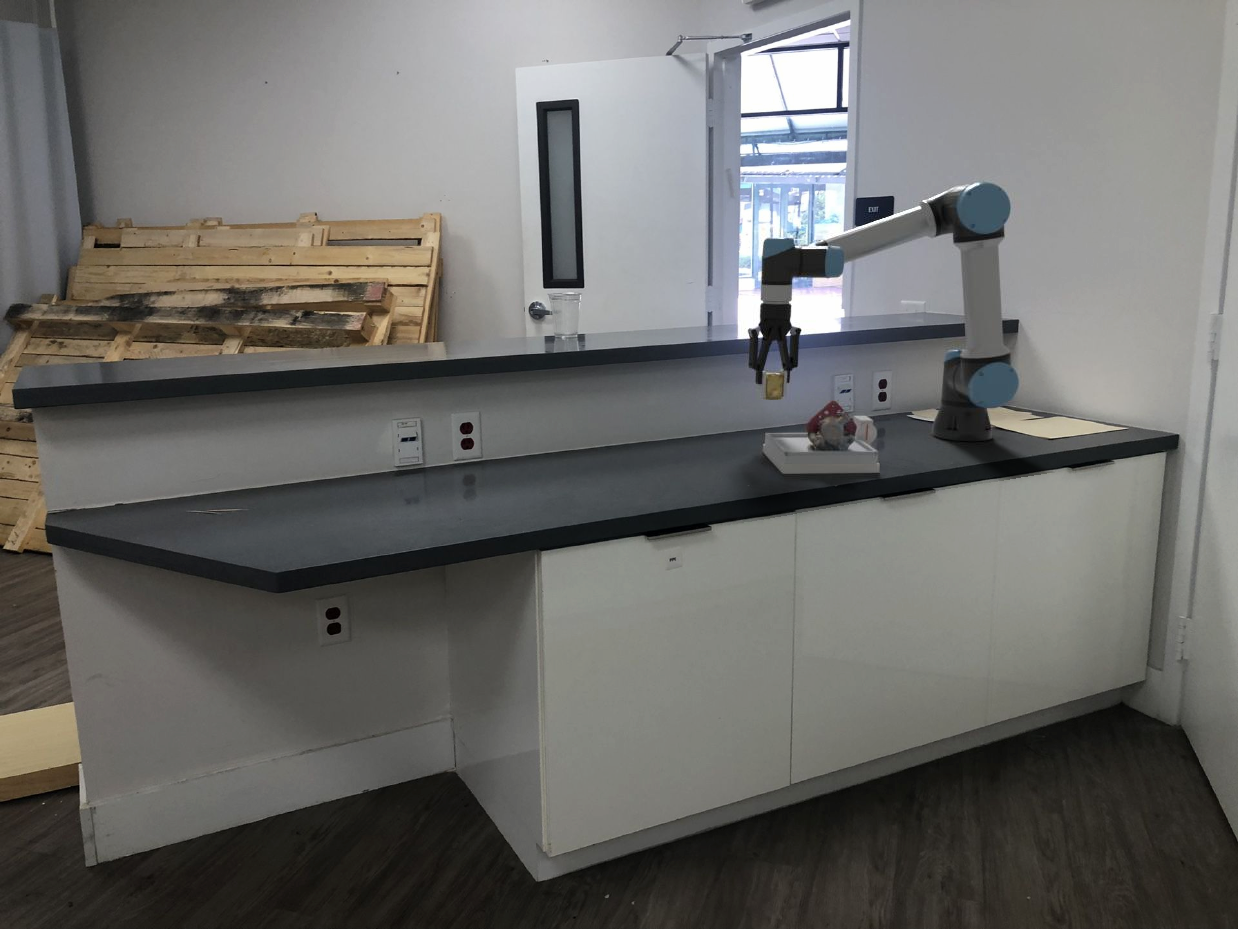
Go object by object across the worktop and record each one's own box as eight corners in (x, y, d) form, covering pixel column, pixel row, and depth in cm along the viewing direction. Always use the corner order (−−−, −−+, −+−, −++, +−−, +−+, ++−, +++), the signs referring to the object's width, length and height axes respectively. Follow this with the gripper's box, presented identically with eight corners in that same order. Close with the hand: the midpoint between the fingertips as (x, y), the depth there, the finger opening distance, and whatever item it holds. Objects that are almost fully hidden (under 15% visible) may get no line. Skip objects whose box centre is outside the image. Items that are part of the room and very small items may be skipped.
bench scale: (866, 451, 239) (868, 415, 237) (896, 472, 218) (899, 433, 216) (762, 451, 238) (764, 415, 236) (782, 473, 216) (784, 434, 214)
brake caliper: (853, 432, 229) (858, 397, 220) (855, 468, 222) (860, 434, 213) (805, 431, 231) (808, 396, 221) (804, 466, 224) (808, 432, 215)
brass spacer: (776, 396, 244) (777, 372, 243) (785, 399, 240) (786, 375, 238) (758, 397, 243) (759, 373, 241) (767, 400, 238) (768, 375, 237)
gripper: (801, 300, 242) (797, 392, 247) (735, 302, 236) (732, 396, 242) (816, 302, 235) (811, 397, 240) (748, 304, 229) (745, 400, 235)
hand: (772, 396), depth 241 cm, fingers closed on brass spacer, 5 cm apart
